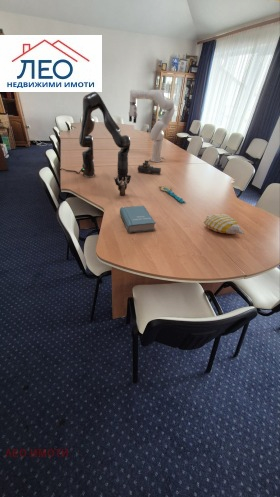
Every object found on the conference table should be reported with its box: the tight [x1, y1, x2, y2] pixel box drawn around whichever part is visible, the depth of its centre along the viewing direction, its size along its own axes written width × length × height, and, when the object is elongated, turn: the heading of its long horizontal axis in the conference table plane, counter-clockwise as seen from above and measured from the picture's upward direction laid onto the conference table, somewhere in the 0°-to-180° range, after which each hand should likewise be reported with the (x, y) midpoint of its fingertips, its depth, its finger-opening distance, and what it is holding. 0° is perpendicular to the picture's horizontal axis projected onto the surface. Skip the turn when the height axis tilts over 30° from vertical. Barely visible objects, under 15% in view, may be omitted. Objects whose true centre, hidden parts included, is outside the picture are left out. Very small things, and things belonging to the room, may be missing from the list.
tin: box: [119, 182, 126, 197], centre depth 167 cm, size 4×4×9 cm
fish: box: [203, 213, 245, 235], centre depth 133 cm, size 25×8×20 cm
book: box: [119, 205, 156, 233], centre depth 136 cm, size 23×16×5 cm
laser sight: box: [137, 160, 162, 175], centre depth 213 cm, size 10×22×10 cm, turn 78°
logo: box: [158, 185, 186, 204], centre depth 176 cm, size 34×10×1 cm, turn 16°
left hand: (122, 189), depth 167 cm, fingers closed on tin, 4 cm apart
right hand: (132, 122), depth 248 cm, fingers open, 9 cm apart
